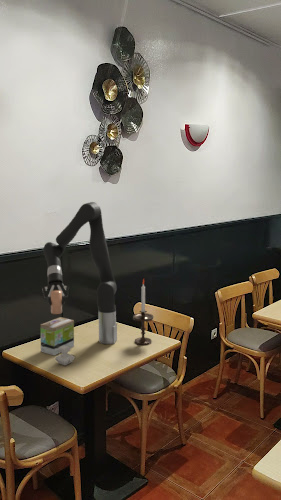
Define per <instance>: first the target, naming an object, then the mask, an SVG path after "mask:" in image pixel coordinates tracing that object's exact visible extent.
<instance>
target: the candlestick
mask: <svg viewBox="0 0 281 500" xmlns="http://www.w3.org/2000/svg"><path fill="white" fill-rule="evenodd" d="M140 297H141V300H140V301H141V307H140V308H141V310H139V312H138V313H135V314H133V316H132V319H133V320H134V321H137V322H141V327H140V331H141V332H140V334H141V337H138V338H135V339H134V343H135V344H136V345H139V346H148V345H151V344H152V342H153V341H152V339H151V338H149V337H145V334H146V327H145V322H149V321H150V322H151V321H153V320H154V315H153V314H151V313H149V312H148V313H147V310H146V286H145V278H143V279H142V286H141V296H140Z"/></svg>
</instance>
